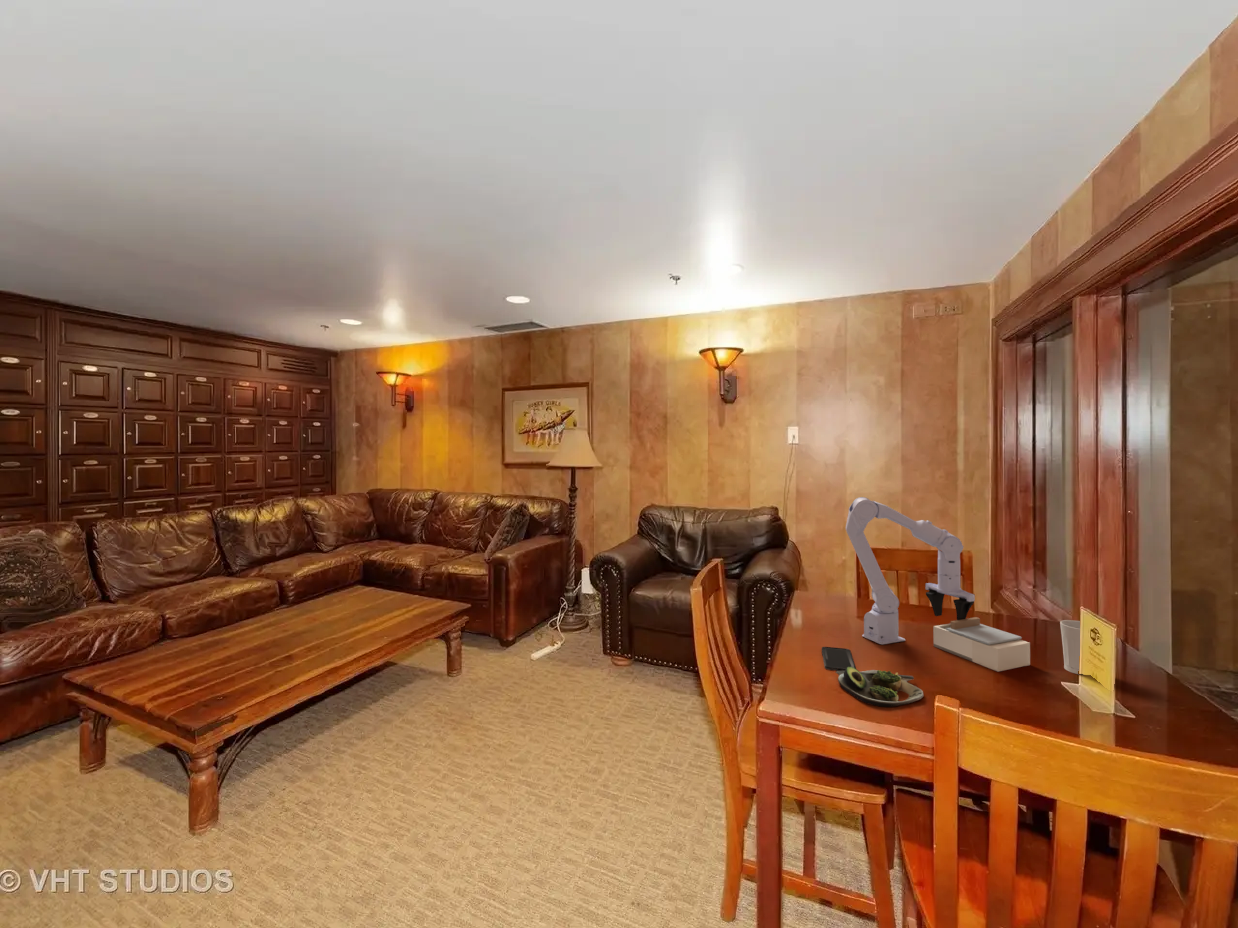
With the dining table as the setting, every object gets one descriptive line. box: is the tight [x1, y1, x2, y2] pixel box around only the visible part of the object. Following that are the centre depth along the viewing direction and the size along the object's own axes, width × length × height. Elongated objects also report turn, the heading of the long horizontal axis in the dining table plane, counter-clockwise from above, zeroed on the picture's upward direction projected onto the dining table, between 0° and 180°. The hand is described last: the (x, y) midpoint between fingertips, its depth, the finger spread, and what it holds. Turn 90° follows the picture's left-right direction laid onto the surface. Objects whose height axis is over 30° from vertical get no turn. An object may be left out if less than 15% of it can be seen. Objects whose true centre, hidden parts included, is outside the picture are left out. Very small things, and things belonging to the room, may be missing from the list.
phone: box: [821, 646, 857, 672], centre depth 146 cm, size 8×1×15 cm
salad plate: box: [834, 667, 925, 708], centre depth 128 cm, size 19×18×5 cm
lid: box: [946, 616, 1023, 645], centre depth 146 cm, size 12×12×2 cm
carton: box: [932, 623, 1031, 672], centre depth 147 cm, size 12×19×6 cm, turn 18°
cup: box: [1059, 619, 1081, 675], centre depth 135 cm, size 8×8×12 cm
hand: (949, 619), depth 156 cm, fingers open, 7 cm apart
